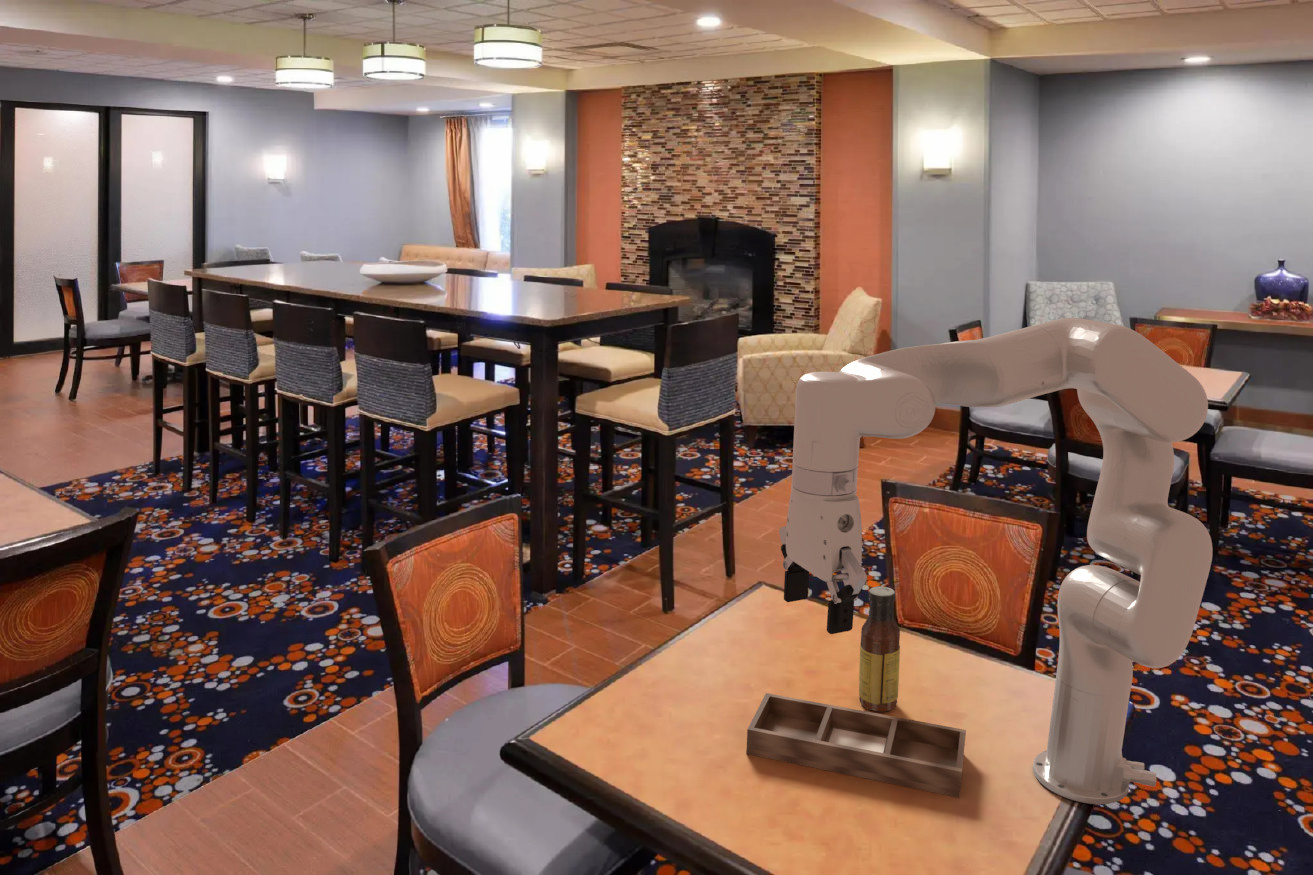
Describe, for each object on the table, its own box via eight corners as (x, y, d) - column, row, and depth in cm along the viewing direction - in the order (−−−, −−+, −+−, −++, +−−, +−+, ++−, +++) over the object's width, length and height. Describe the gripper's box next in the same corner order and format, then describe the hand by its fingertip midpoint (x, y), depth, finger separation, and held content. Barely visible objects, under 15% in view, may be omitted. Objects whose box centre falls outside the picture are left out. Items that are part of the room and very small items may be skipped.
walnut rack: (963, 754, 147) (966, 729, 146) (959, 797, 136) (961, 771, 135) (764, 715, 156) (765, 692, 155) (746, 753, 146) (747, 729, 145)
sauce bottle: (894, 696, 163) (903, 583, 158) (899, 715, 157) (909, 599, 152) (854, 693, 164) (862, 581, 159) (857, 712, 158) (866, 597, 153)
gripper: (896, 496, 109) (885, 639, 113) (812, 457, 124) (805, 584, 128) (838, 504, 106) (829, 650, 110) (759, 463, 121) (754, 593, 125)
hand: (816, 615), depth 119 cm, fingers open, 9 cm apart
